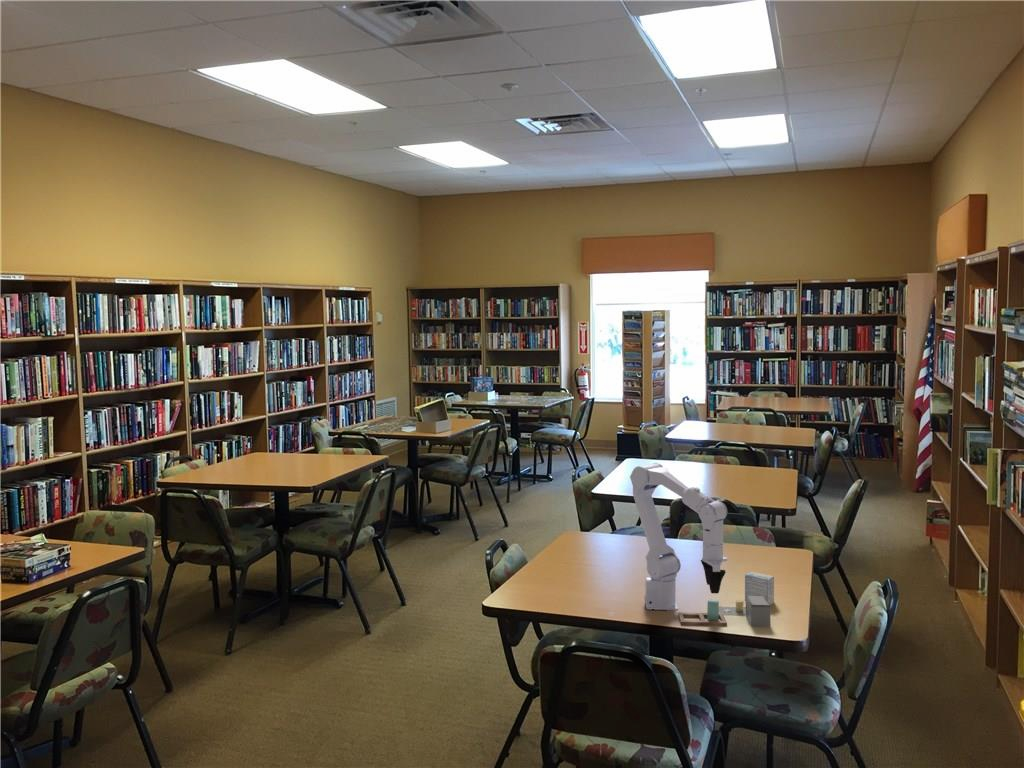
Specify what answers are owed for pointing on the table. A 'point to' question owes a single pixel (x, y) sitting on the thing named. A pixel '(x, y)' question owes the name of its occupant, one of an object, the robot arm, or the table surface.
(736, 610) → the tile
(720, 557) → the robot arm
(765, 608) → the housing
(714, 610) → the teal peg
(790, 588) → the table surface
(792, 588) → the table surface
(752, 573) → the medicine box
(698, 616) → the walnut board
